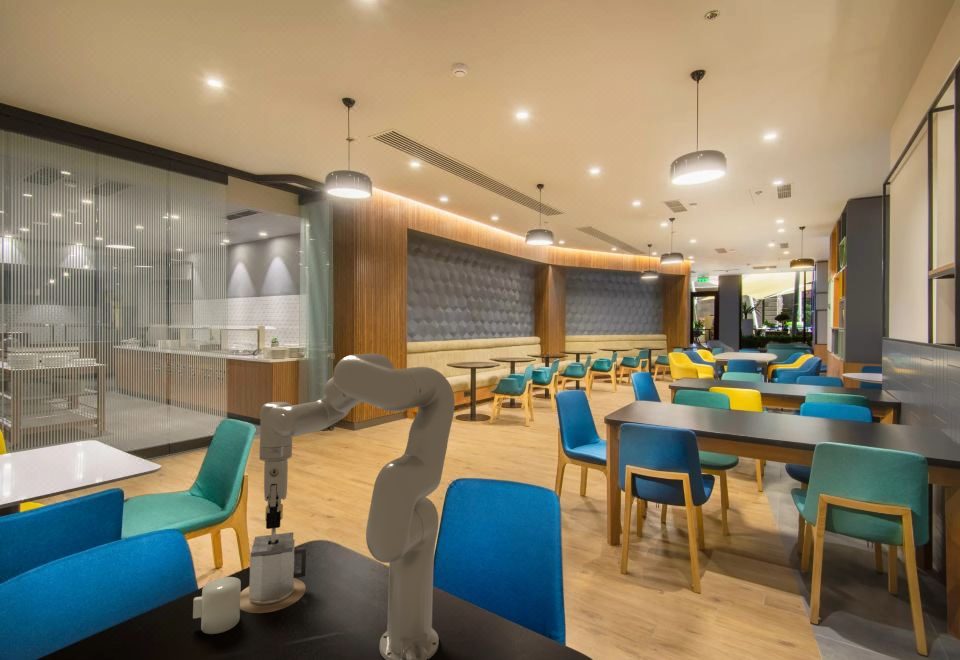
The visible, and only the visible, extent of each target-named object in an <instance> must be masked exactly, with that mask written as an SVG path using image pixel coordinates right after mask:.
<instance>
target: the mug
mask: <svg viewBox="0 0 960 660" xmlns="http://www.w3.org/2000/svg"><path fill="white" fill-rule="evenodd" d="M241 582H242V581H241V579H240V578H238V577H236V576H235V577H234V576H226V577H220V578H216V579H214V580H211V581H209V582H207V583H206V584H205V585H204V586H203V588H202V590H201V591H202V593H201V596H196V597H195V596H194V598H193V602H192V603H193V607H192V610H193V611H192V619H199V618H200V619H201V622H200V623H201V624H200V630H201V631H202V633H204V634H207V635H214V634H215V635H216V634H220V633H225V632H227V631H230V630H231V629H233V628H234V627H236V625H238V623H239V622H240V619H241V617H240V615H241V613H240V612H241V609H240V593H241V589H242V587H241V586H242V585H241V584H242V583H241Z"/></svg>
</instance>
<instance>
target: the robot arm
mask: <svg viewBox="0 0 960 660" xmlns="http://www.w3.org/2000/svg"><path fill="white" fill-rule="evenodd" d="M455 401H456V400H455V394H454V390H453V388H452V385H451V384H450V382H449V380H448V379H447V377H445V375H444V374H443V373H442V372H440V371H438V370H437V369H434V368H431V367H429V366H428V367H426V366H417V367H408V368H399V369H395V366H394V364H393V362H392V361H391V359H389V358H388V357H386V356H385V355H384V354H380V353H362V354H359V353H358V354H357V353H356V354H350V355H346V356H345V357H343V358H341V359H340V360H339V361H338V362H337V364H336V365H335V367H334V370H333V376H332V377H331V378H330V379H328V380H327V382H326V383H325V384H324V396H323V397H322V398H320V399H318V400H316V401H313V402H311V401H310V402H304V403H300V404H294V405H292V403H290V402H288V401H287V402H286V401H271V402H267V403H264V404H263V405H262V406H261V409H260V421H259V422H260V423H259V425H260V426H259V430H260V431H259V434H260V435H259V460H260V461H264V464H263V466H264V468H263V469H264V471H263V488H264V489H263V493H264V494H263V495H264V501H265V502H267V505H268V509H267V513H266V512H265V513H266V521H265V522H266V524H265V529H267V530H270V529H271V530H272V528H276V529H277V528H278V529H279V528H281V520H282V519H281V511H280V504H282V500H283V501H284V500H285V499H287V496H288V495H287V494H288V471H289V470H288V465H289V464H288V461H289V459H291V458H292V455H293V453H292V452H293V438H296V437H299V436H304V435H307V434H310V433H315V432H319V431H323V430H325V429H327V428H329V427H331V426H333V425H334V424H335V423H337V422H339V421H340V420H342V419H344V418H345V417H346V416H347V415H348V414H349V413H350V411H351V409H353V408H355V407H356V406H357V405H359V404H361V403H365V404H368V405H370V406H373V407H375V408H378V409H380V410H384V411H385V412H386V411H387V412H393V413H394V412H395V413H396V412H397V413H398V412H403V411H406V410H411V409H414V408H417V413H416V415H415V417H414V419H413V421H412V423H411V425H410V429H409V432H408V436H407V437H408V438H407V442H406V447H405V450H404V453H403V454H402V455H401V456H400V457H398V458H395V459H393V460H391V461H389V462H387V464H385V465H384V466H383V467H382V468H381V470H380V471H379V472H378V474H377V477H376V478H375V482H374V485H373V489H372V490H373V491H372V495H371V499H370V505H369V506H370V507H369V510H368V518H367V521H366V529H365V538H366V539H365V540H366V541H365V542H366V546H367V549H368V551H369V553H370V555H371V556H372V557H373V559H375V560H377V561H378V562H380V563H383V564H384V563H386V564H388V596H387V628H386V629H387V630H386V631H385V632H384V633H383V634H382V636H381V637H380V640H379V652H380V655H381V656H382V657H383V659H384V660H427V659H428V660H430V659H431V658H432V657H433V656H434V655H435V654H436V653H437V652H438V648H439V644H440V643H439V639H440V637H439V635H438V633H437V631H436V630H435V629H434V627H433V600H434V599H433V592H434V588H433V587H434V567H435V565H434V563H435V562H434V560H435V559H434V558H435V548H436V542H437V536H438V530H439V511H438V510H437V507H436V506H435V503H434V502H433V501H432V500H431V499H429V498H428V496H430V495H431V494H433V493H434V492H435V491H436V490H437V489H438V487H439V486H440V483H441V481H442V477H443V471H444V470H443V469H444V465H445V460H446V453H447V450H448V445H449V437H450V431H451V429H452V423H453V418H454V414H455V406H456V405H455V404H456V403H455ZM276 503H277V504H276ZM280 519H281V520H280Z"/></svg>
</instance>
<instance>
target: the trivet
mask: <svg viewBox="0 0 960 660" xmlns="http://www.w3.org/2000/svg"><path fill="white" fill-rule="evenodd" d="M293 584H294V592H293V594H292V595H291V596H290V597H289V598H288V599H286V600H285V601H283V602H280V603H277V604H274V605H268V606H258V605H254V604H252V603H251V602H250V601H249V586H247V587H246V588H244V589H243V590H242V591H240V611H243V612H245V613H252V614H264V613H267V614H268V613H271V612H276V611H280V610H282V609H283V610H284V609H286V608H287V607H290V606H291V605H293V604H295V603H296V602H298V601H299V600H300V599H301V598H302V597H303V596H304V595H305V593H306V589H307V588H306V584H305V583H304V582H303V581H302V580H300V579H298V578H294V583H293Z"/></svg>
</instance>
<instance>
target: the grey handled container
mask: <svg viewBox="0 0 960 660" xmlns="http://www.w3.org/2000/svg"><path fill="white" fill-rule="evenodd" d="M295 542H296V540H295V539H294V531H292V532H285V533H276V542H275V544H271V534H266V535H260V536H259V535H258V536H254V540H253V544H252V545H251V548H250V549H251V550H250V553H249V554H250V556H249V583H248V584H249V585H248V587H249V601H250V602H251V603H252V604H254V605H258V606H268V605H274V604H277V603H280V602H283V601H285V600H286V599H288V598H289V597H290V596H291V595H292V594H293V592H294V584H293V583H294V578H296V579H298V578H304V577H306V559H307V545H305V546H299V547H298V546H297V547H295V546H296V545H295ZM295 555H301V563H300V564H301V565H300V567H301V568H300V569H298V570H295Z"/></svg>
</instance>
